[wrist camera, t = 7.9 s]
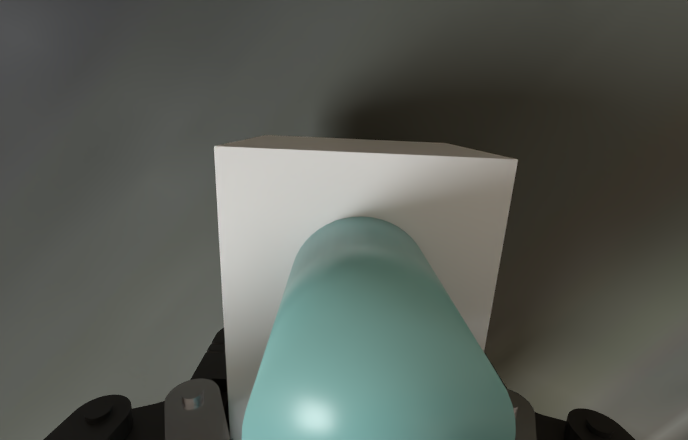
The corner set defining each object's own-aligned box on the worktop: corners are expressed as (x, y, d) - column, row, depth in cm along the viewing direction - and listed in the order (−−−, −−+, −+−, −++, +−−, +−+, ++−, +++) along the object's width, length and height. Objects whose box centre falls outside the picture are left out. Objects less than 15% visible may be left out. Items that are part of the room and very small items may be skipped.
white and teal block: (446, 142, 12) (732, 208, 3) (407, 465, 16) (489, 893, 7) (265, 135, 12) (55, 180, 3) (270, 462, 16) (184, 894, 7)
